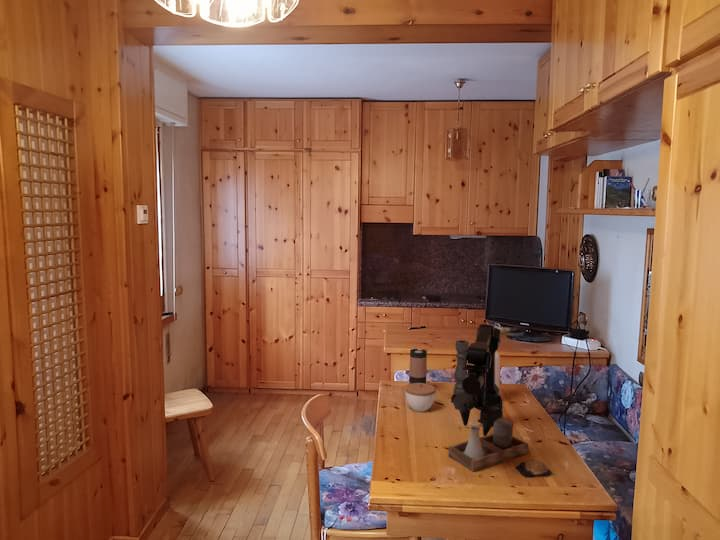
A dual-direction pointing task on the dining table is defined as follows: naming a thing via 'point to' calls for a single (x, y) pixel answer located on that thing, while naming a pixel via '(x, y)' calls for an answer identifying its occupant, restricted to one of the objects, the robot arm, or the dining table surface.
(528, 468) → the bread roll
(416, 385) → the lidded bowl
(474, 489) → the dining table surface
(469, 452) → the flask
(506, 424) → the cruet stand
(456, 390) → the candle holder
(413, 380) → the travel mug
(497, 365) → the bottle
